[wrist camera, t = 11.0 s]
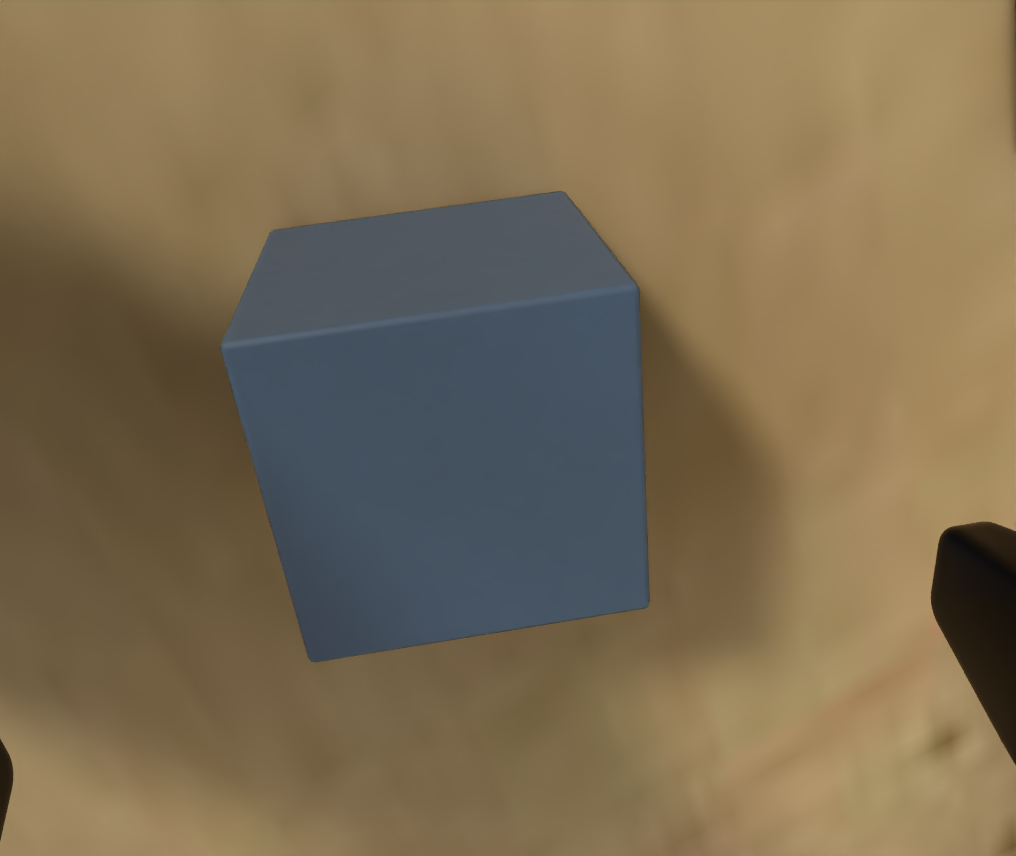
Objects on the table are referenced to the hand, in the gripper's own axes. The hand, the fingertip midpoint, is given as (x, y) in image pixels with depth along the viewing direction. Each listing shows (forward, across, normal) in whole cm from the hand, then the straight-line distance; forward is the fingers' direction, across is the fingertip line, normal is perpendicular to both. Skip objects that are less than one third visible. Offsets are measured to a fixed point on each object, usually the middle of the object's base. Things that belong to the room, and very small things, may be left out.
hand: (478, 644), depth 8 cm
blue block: (+8, 0, 0) cm, 9 cm away
